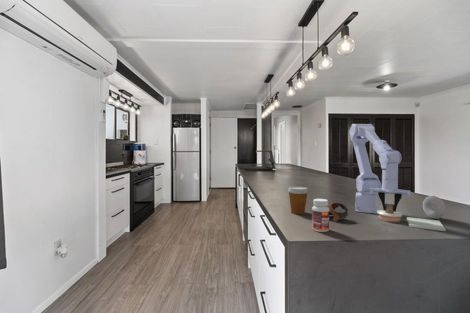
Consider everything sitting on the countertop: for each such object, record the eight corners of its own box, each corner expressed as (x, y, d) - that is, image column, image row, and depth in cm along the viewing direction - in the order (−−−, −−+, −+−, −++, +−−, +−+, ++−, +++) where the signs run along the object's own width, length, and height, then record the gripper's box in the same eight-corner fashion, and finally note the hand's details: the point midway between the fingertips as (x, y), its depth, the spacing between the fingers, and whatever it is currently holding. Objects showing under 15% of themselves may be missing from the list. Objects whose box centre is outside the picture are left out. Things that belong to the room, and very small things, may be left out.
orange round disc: (377, 220, 105) (377, 214, 105) (378, 216, 113) (378, 210, 112) (402, 223, 101) (402, 217, 101) (400, 218, 108) (400, 213, 108)
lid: (376, 214, 105) (376, 205, 105) (377, 210, 113) (377, 201, 113) (403, 217, 100) (403, 207, 100) (401, 212, 108) (401, 203, 108)
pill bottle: (324, 233, 89) (324, 202, 89) (308, 229, 94) (308, 199, 93) (332, 229, 93) (332, 200, 93) (317, 226, 98) (317, 197, 97)
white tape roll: (447, 221, 103) (448, 197, 103) (439, 221, 103) (440, 198, 103) (427, 215, 113) (428, 193, 113) (420, 215, 113) (420, 193, 113)
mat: (409, 226, 97) (409, 224, 97) (406, 218, 108) (406, 216, 108) (445, 231, 91) (445, 229, 91) (439, 222, 102) (439, 220, 102)
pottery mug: (343, 217, 113) (349, 203, 108) (343, 232, 105) (349, 218, 101) (316, 209, 116) (321, 195, 111) (314, 222, 108) (319, 208, 104)
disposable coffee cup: (296, 216, 113) (297, 189, 112) (283, 211, 121) (283, 187, 121) (312, 213, 117) (312, 188, 117) (298, 209, 126) (298, 185, 125)
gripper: (370, 179, 107) (369, 210, 107) (411, 181, 99) (410, 214, 99) (370, 177, 113) (370, 207, 113) (409, 179, 105) (409, 211, 105)
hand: (389, 210), depth 107 cm, fingers closed on lid, 3 cm apart
